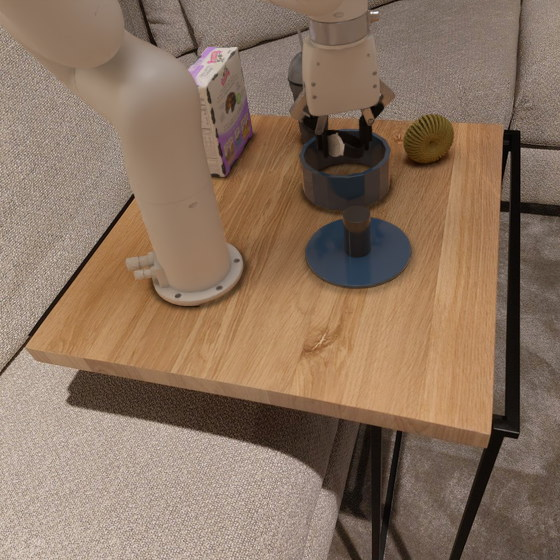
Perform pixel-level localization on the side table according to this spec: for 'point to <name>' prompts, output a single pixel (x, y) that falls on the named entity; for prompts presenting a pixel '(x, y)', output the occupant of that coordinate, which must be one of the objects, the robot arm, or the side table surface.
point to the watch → (339, 148)
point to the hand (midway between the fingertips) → (344, 148)
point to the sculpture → (428, 138)
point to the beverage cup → (300, 88)
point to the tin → (346, 188)
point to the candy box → (222, 107)
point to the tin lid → (358, 250)
